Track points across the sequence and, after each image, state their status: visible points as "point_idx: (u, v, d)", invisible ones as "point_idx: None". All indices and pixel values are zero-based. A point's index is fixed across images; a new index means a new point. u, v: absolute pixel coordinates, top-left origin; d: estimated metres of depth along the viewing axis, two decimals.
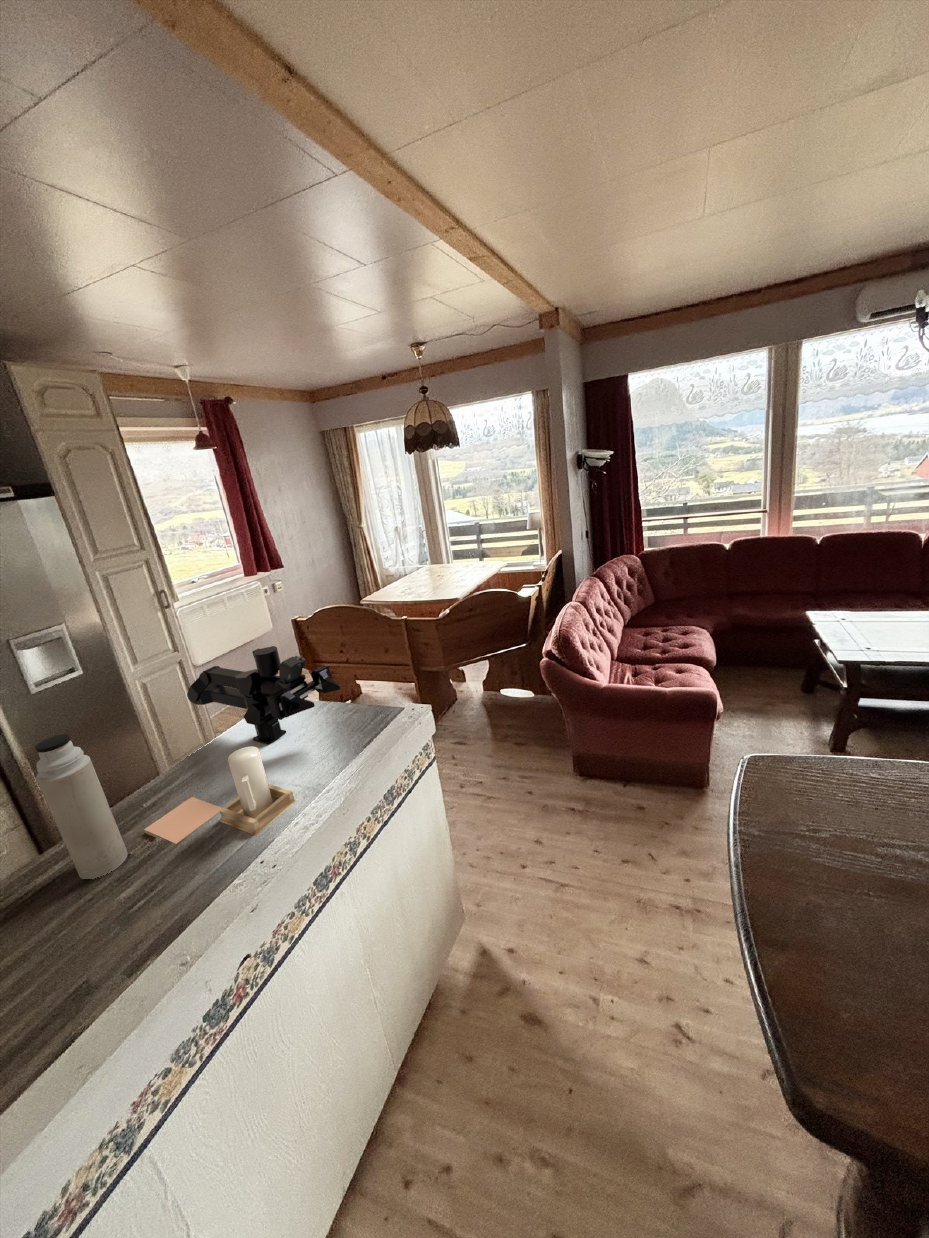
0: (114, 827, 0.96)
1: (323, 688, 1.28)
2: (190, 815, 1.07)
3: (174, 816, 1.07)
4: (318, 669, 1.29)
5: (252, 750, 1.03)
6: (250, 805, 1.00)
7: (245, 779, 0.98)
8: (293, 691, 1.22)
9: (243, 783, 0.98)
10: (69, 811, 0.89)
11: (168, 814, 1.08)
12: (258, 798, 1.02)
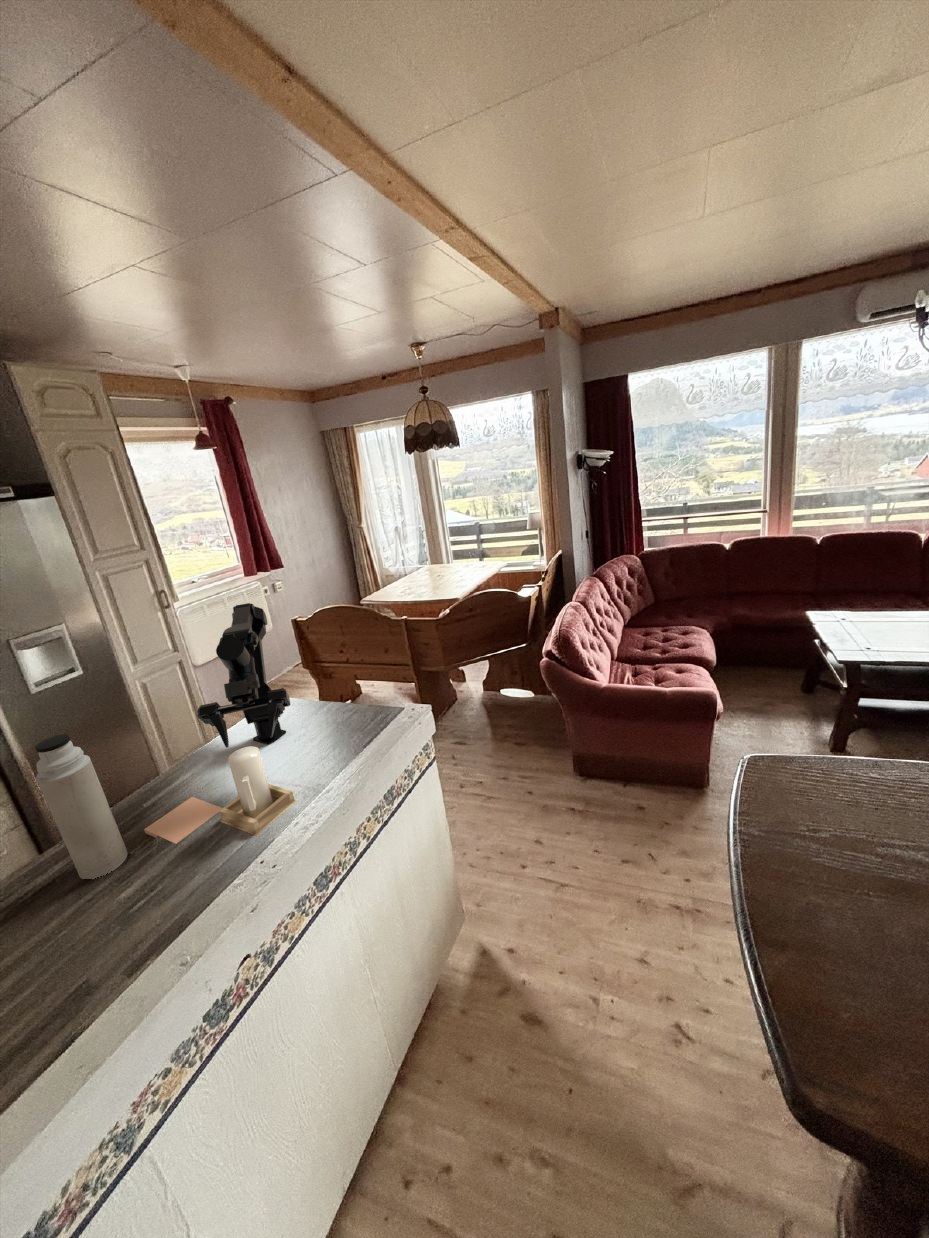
0: (114, 827, 0.96)
1: None
2: (190, 815, 1.07)
3: (174, 816, 1.07)
4: (273, 695, 1.12)
5: (252, 750, 1.03)
6: (250, 805, 1.00)
7: (245, 779, 0.98)
8: (232, 706, 1.11)
9: (243, 783, 0.98)
10: (69, 811, 0.89)
11: (168, 814, 1.08)
12: (258, 798, 1.02)
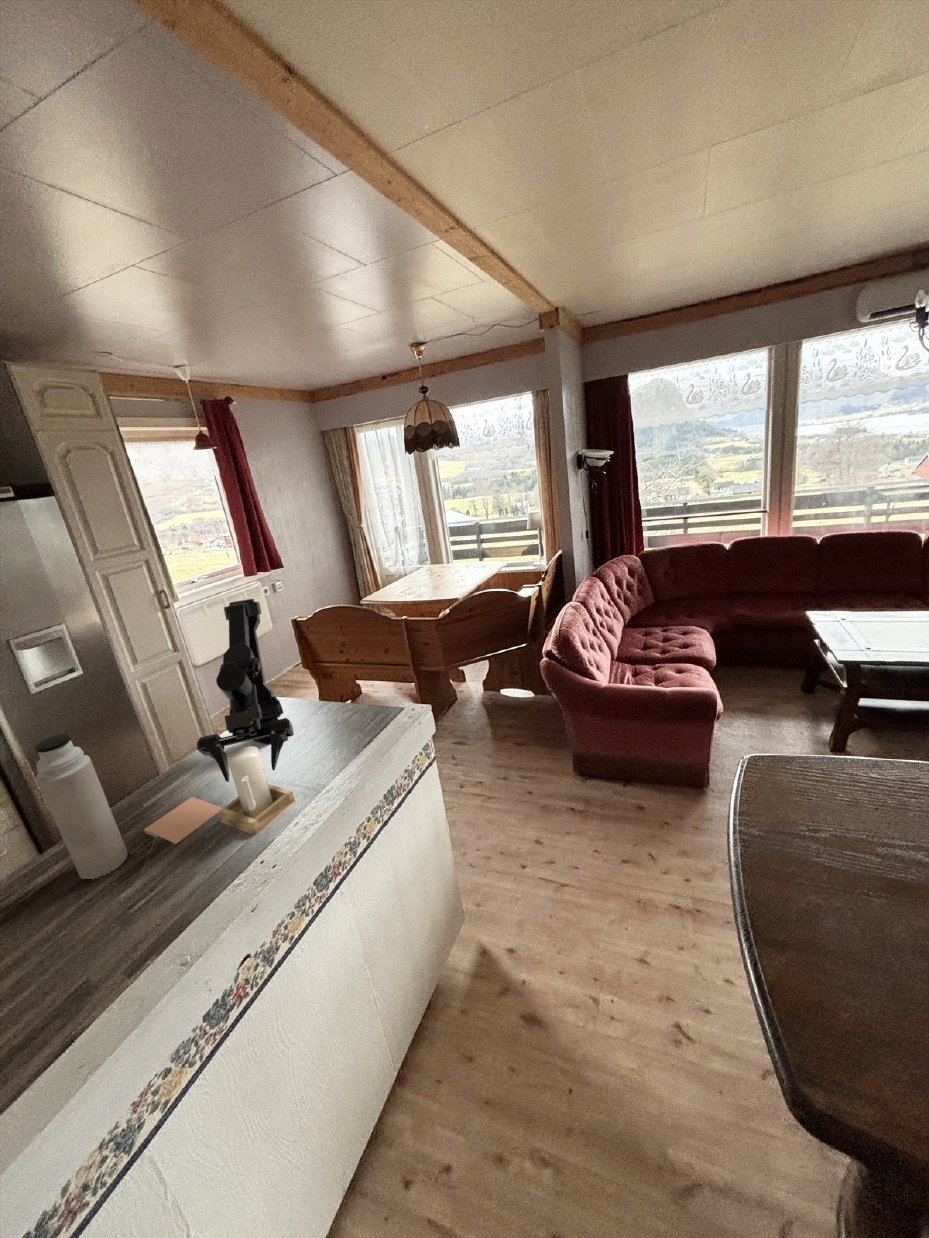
0: (114, 827, 0.96)
1: None
2: (190, 815, 1.07)
3: (174, 816, 1.07)
4: (275, 726, 1.07)
5: (252, 750, 1.03)
6: (250, 805, 1.00)
7: (245, 779, 0.98)
8: (233, 738, 1.07)
9: (243, 783, 0.98)
10: (69, 811, 0.89)
11: (168, 814, 1.08)
12: (257, 797, 1.02)
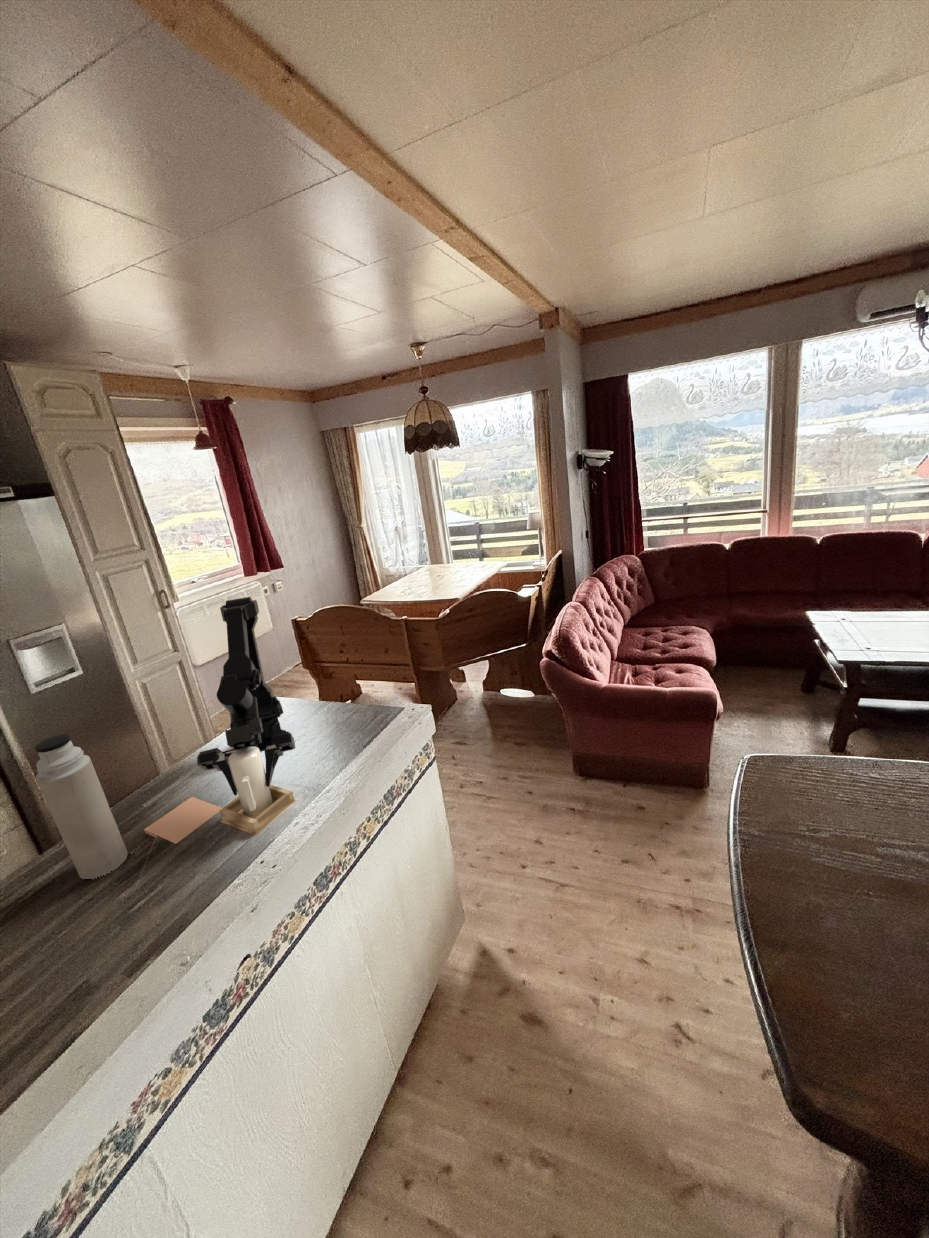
0: (114, 827, 0.96)
1: None
2: (190, 815, 1.07)
3: (174, 816, 1.07)
4: (277, 740, 1.05)
5: (253, 750, 1.03)
6: (250, 805, 1.00)
7: (245, 779, 0.98)
8: None
9: (243, 783, 0.98)
10: (69, 811, 0.89)
11: (168, 814, 1.08)
12: (258, 798, 1.02)
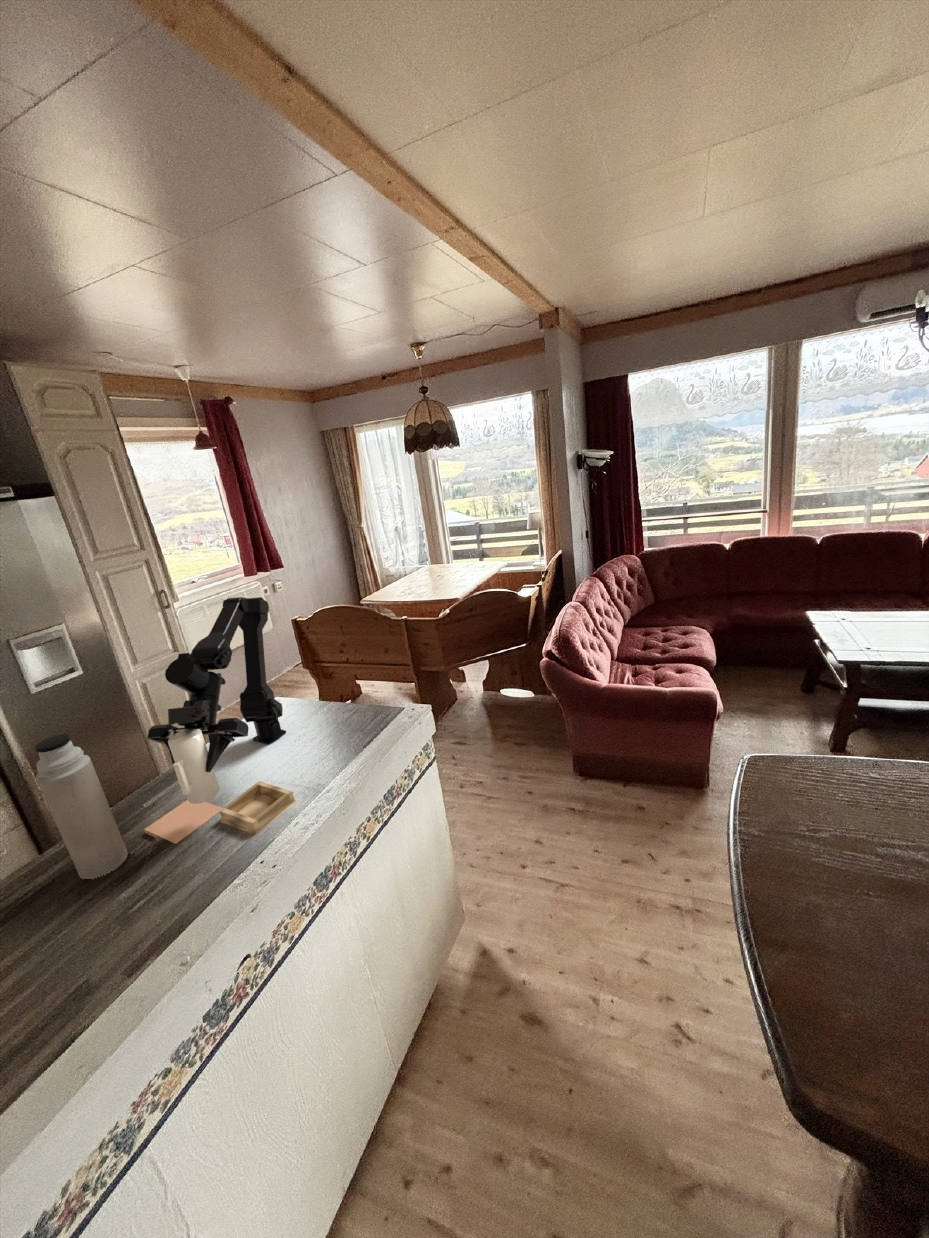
0: (114, 827, 0.96)
1: None
2: (190, 815, 1.07)
3: (174, 816, 1.07)
4: (222, 725, 1.01)
5: (195, 733, 0.99)
6: (183, 789, 0.97)
7: (177, 762, 0.95)
8: None
9: (174, 766, 0.95)
10: (69, 811, 0.89)
11: (168, 814, 1.08)
12: (195, 782, 0.99)
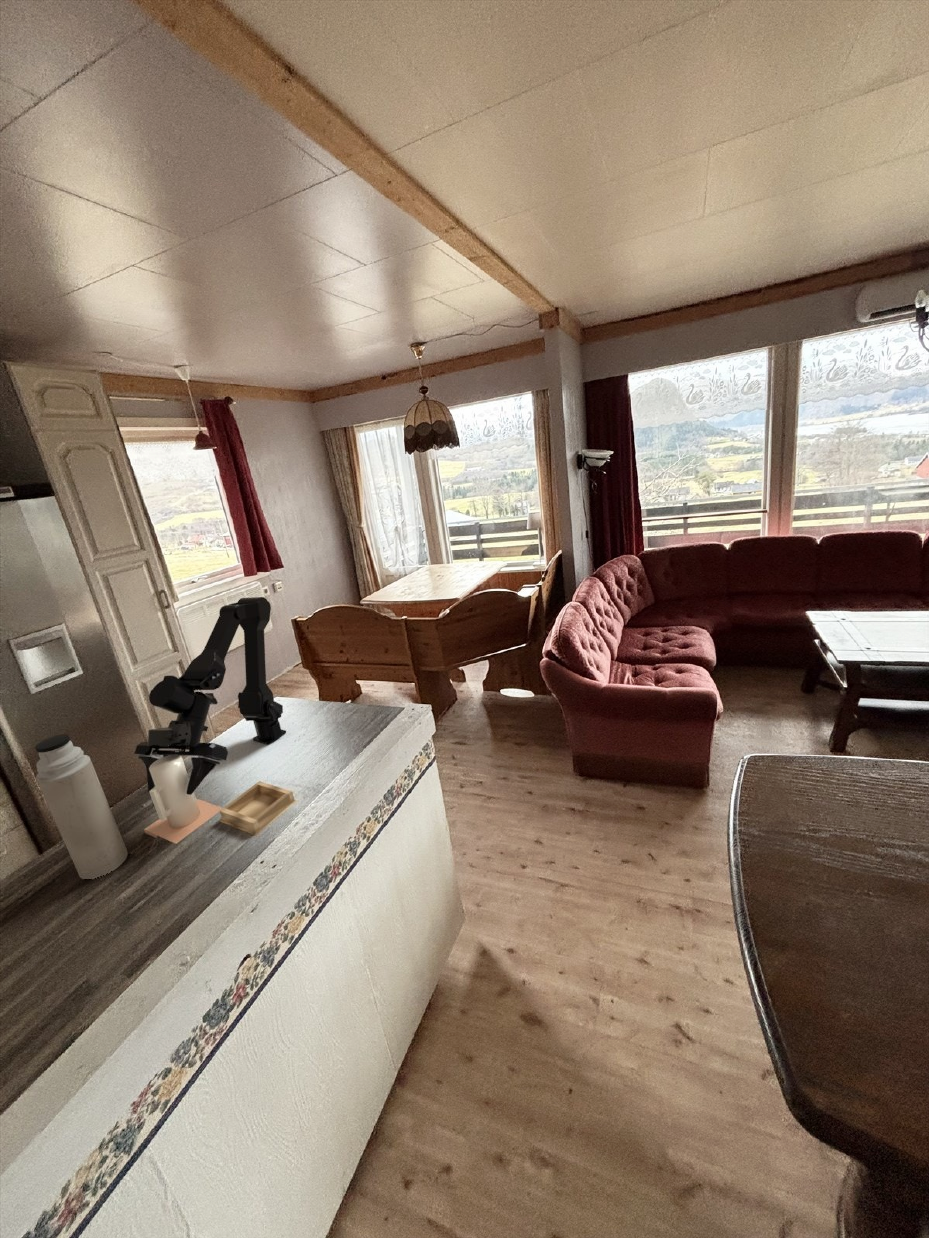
0: (114, 827, 0.96)
1: None
2: None
3: None
4: (198, 750, 1.02)
5: (175, 760, 1.02)
6: (159, 815, 1.00)
7: (154, 789, 0.98)
8: (167, 750, 1.05)
9: (150, 793, 0.98)
10: (69, 811, 0.89)
11: None
12: (173, 808, 1.02)
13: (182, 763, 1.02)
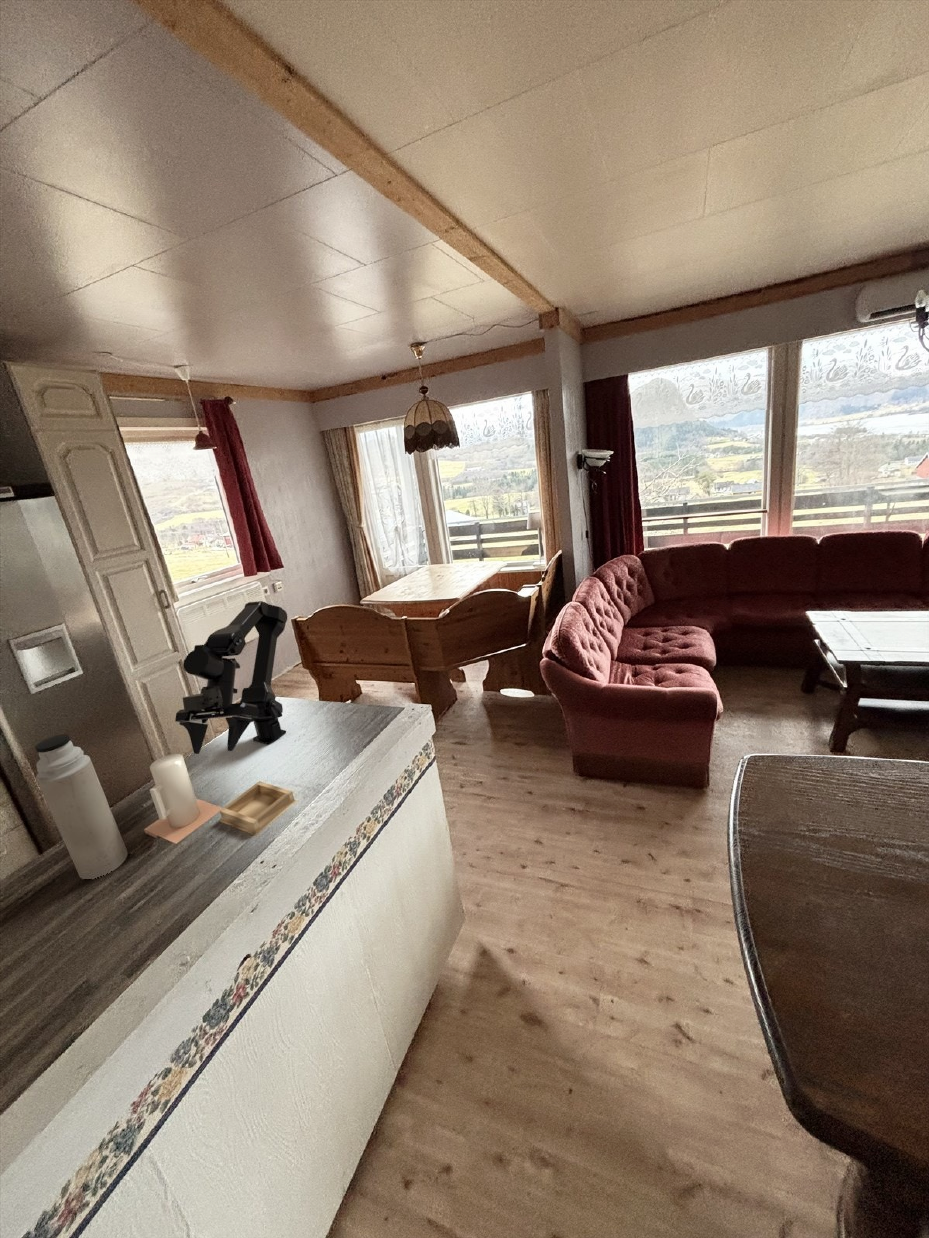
0: (114, 827, 0.96)
1: None
2: None
3: None
4: (231, 710, 1.09)
5: (176, 759, 1.02)
6: (159, 814, 1.00)
7: (154, 788, 0.99)
8: (204, 714, 1.13)
9: (151, 791, 0.98)
10: (69, 811, 0.89)
11: None
12: (173, 807, 1.02)
13: (183, 762, 1.03)
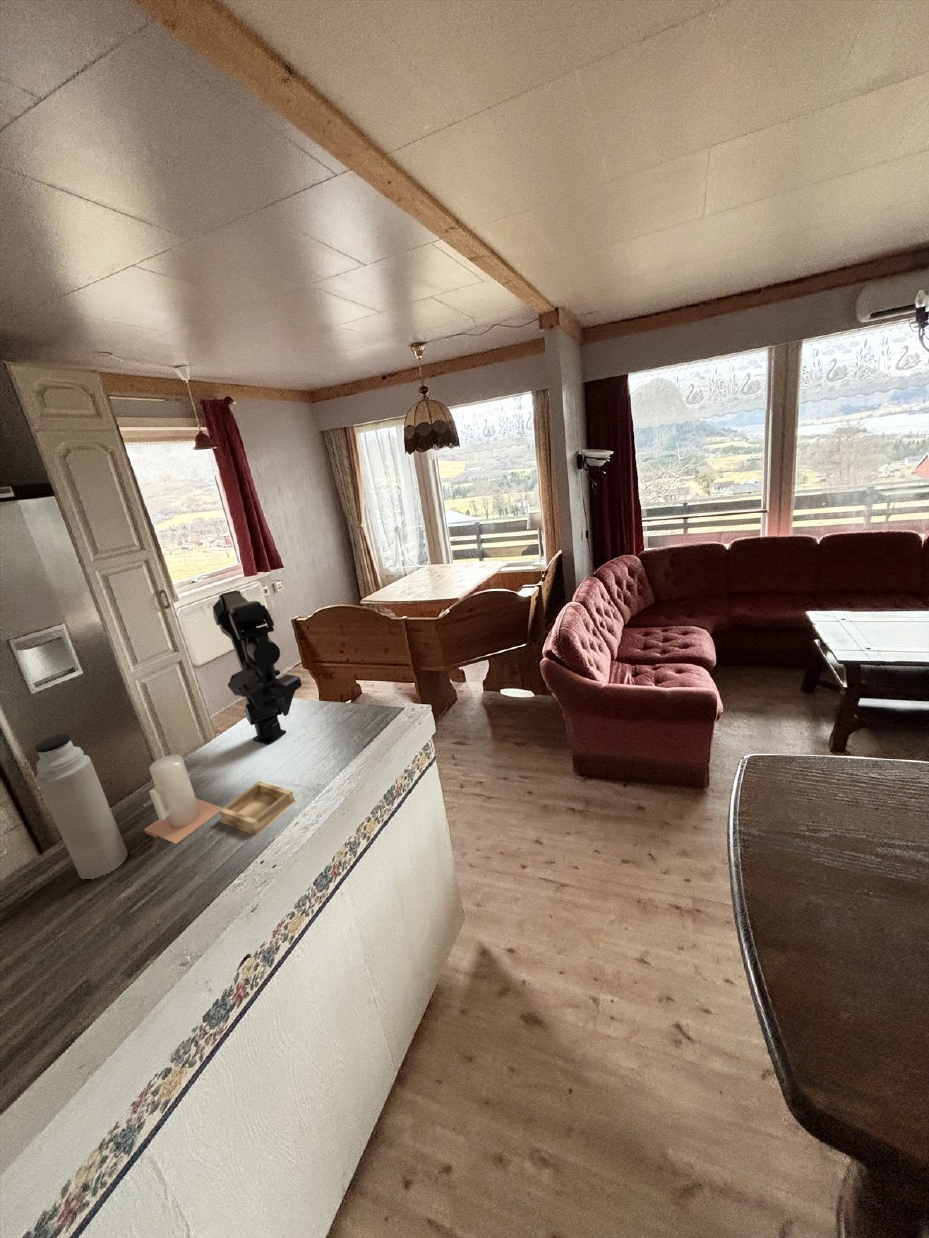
0: (114, 827, 0.96)
1: None
2: None
3: None
4: (274, 691, 1.14)
5: (176, 760, 1.02)
6: (159, 815, 1.00)
7: (153, 789, 0.98)
8: None
9: (150, 793, 0.98)
10: (69, 811, 0.89)
11: None
12: (173, 808, 1.02)
13: (182, 763, 1.02)
